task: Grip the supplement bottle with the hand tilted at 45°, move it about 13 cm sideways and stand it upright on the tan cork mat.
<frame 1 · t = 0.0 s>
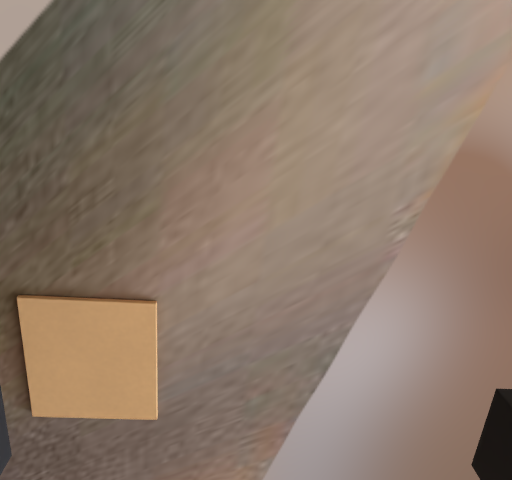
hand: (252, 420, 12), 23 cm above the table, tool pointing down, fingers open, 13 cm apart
cork mat: (92, 359, 38), on the table
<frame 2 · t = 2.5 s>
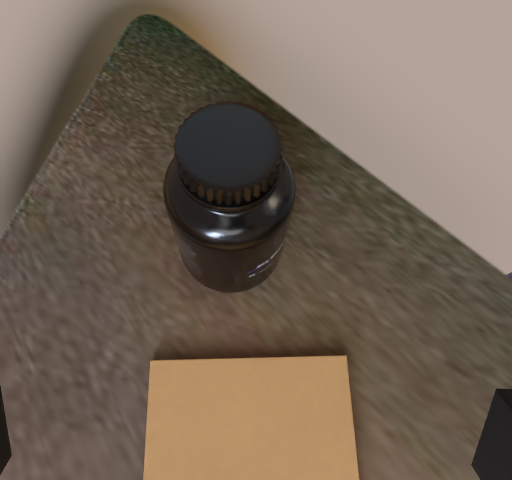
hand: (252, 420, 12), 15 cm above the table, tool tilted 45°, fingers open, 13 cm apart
cork mat: (251, 457, 25), on the table
supplement bottle: (232, 247, 30), on the table
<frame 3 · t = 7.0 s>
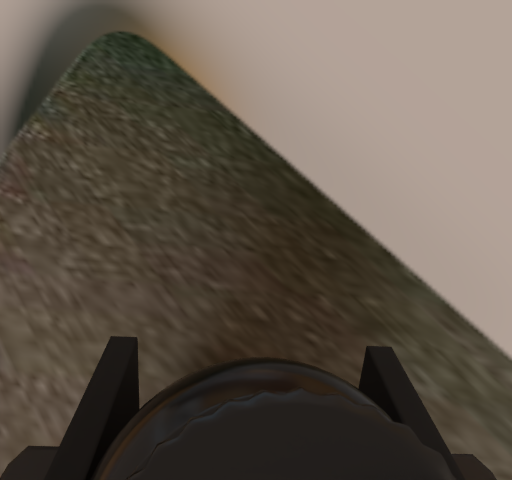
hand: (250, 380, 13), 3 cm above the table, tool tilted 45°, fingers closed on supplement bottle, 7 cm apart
when the fingers open (4 cm above the table, at t = 14.8 s): supplement bottle stays where it is, resting on cork mat.
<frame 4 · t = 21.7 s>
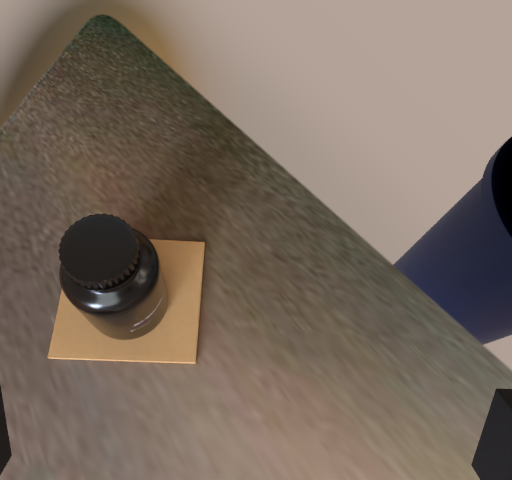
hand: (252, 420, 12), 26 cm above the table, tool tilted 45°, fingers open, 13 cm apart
cork mat: (132, 297, 39), on the table
supplement bottle: (130, 302, 39), resting on cork mat
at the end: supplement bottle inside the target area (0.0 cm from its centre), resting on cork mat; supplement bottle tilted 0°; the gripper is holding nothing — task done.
